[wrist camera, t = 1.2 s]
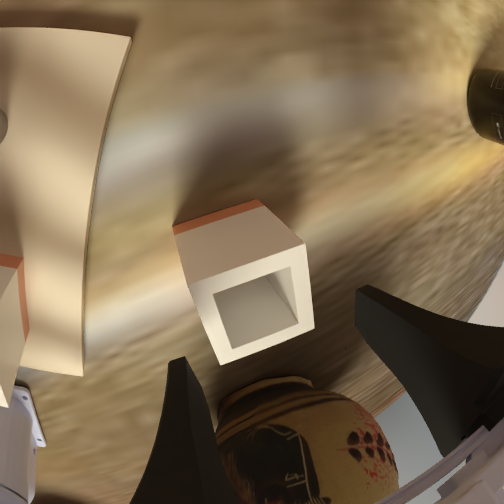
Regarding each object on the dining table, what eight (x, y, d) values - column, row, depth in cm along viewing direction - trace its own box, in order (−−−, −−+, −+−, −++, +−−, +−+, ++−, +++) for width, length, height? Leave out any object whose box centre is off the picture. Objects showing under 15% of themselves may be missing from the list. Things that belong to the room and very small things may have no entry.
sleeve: (271, 270, 21) (314, 328, 16) (197, 296, 20) (220, 365, 15) (257, 199, 18) (305, 243, 13) (172, 226, 17) (187, 284, 12)
